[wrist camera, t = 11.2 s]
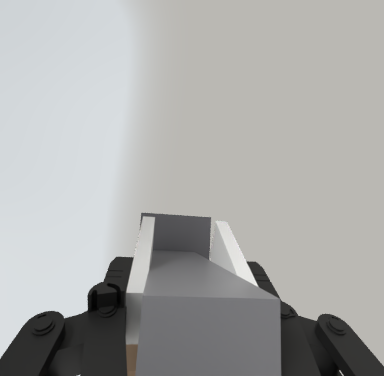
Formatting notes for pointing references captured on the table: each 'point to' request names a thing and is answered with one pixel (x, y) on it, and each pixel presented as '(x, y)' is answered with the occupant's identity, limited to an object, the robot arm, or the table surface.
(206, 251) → the grey t-shaped block
